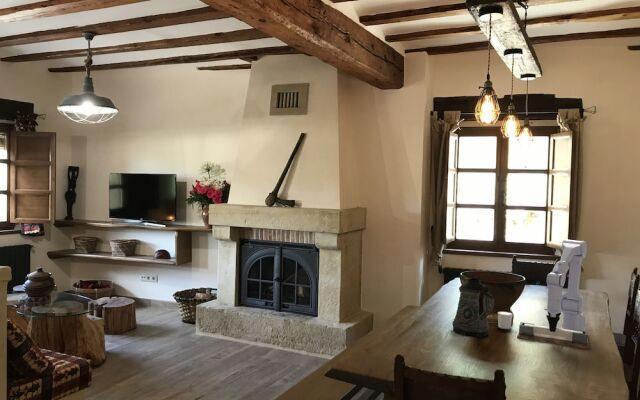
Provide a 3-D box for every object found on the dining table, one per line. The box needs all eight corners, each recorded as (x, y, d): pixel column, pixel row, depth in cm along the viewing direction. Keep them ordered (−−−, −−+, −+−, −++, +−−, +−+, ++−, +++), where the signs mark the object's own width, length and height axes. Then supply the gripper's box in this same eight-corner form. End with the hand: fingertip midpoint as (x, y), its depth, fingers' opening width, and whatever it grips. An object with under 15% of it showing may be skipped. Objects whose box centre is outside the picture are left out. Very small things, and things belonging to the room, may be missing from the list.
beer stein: (457, 325, 263) (460, 274, 262) (498, 332, 253) (501, 279, 252) (447, 333, 249) (449, 279, 248) (490, 340, 239) (493, 284, 238)
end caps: (587, 341, 240) (587, 331, 240) (587, 345, 234) (587, 335, 234) (520, 331, 252) (520, 322, 252) (518, 334, 246) (519, 325, 246)
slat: (582, 338, 239) (582, 331, 239) (582, 340, 237) (582, 333, 236) (524, 329, 250) (524, 323, 250) (523, 331, 247) (524, 324, 247)
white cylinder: (502, 329, 258) (503, 315, 258) (494, 325, 265) (494, 311, 264) (514, 329, 260) (515, 314, 260) (506, 325, 267) (507, 311, 266)
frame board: (588, 342, 241) (588, 340, 241) (588, 348, 232) (588, 346, 232) (519, 332, 254) (519, 330, 254) (517, 337, 245) (517, 335, 245)
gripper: (545, 295, 251) (544, 324, 251) (543, 301, 238) (542, 332, 238) (562, 297, 248) (560, 326, 248) (561, 303, 235) (559, 334, 235)
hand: (552, 329), depth 243 cm, fingers open, 7 cm apart
